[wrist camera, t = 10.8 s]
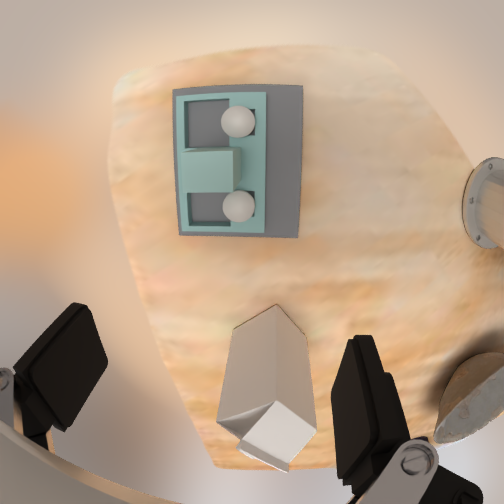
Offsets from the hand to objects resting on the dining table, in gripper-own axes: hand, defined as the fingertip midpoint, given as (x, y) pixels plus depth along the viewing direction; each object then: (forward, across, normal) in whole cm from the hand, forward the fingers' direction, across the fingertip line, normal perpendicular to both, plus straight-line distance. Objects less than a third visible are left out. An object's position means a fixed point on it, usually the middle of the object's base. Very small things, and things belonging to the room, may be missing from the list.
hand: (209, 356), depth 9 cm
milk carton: (+23, -2, +18) cm, 29 cm away
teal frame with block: (+22, +4, -4) cm, 22 cm away
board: (+23, +3, -4) cm, 23 cm away
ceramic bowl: (+25, -42, +30) cm, 57 cm away
